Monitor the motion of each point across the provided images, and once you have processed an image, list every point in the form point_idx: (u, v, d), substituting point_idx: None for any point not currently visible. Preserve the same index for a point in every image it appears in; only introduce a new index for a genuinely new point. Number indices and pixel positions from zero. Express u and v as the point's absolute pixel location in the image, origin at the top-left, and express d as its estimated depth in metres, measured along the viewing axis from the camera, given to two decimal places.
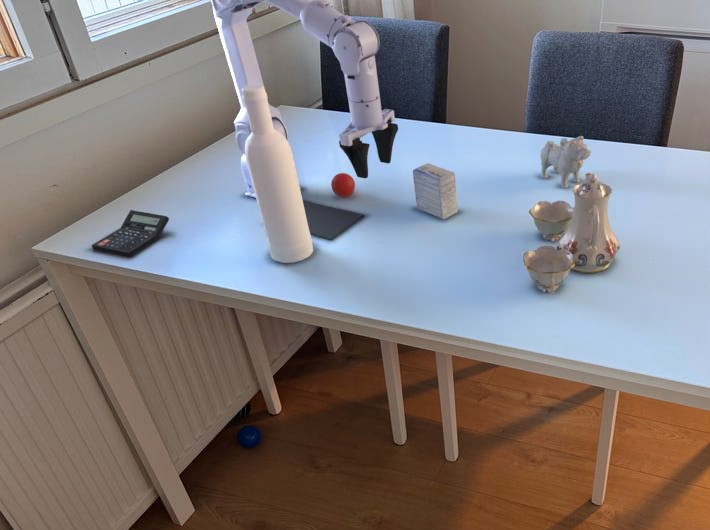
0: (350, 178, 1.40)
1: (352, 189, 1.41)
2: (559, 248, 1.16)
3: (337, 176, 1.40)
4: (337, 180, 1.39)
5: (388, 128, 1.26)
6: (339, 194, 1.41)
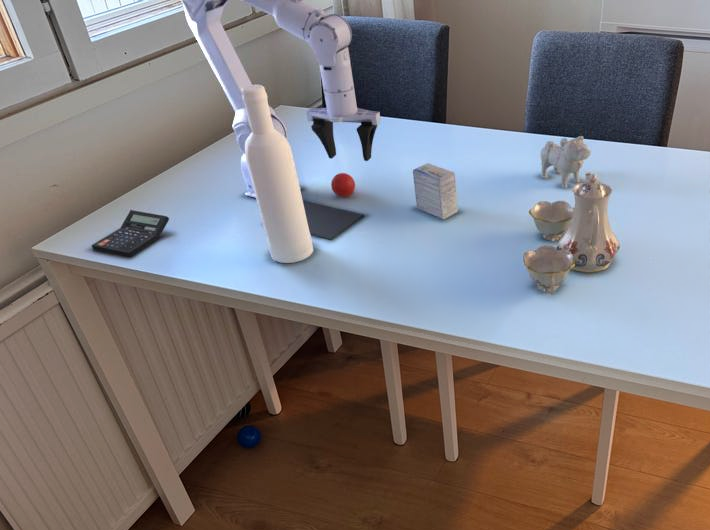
0: (350, 178, 1.40)
1: (352, 189, 1.41)
2: (559, 248, 1.16)
3: (337, 176, 1.40)
4: (337, 180, 1.39)
5: (358, 127, 1.27)
6: (339, 194, 1.41)
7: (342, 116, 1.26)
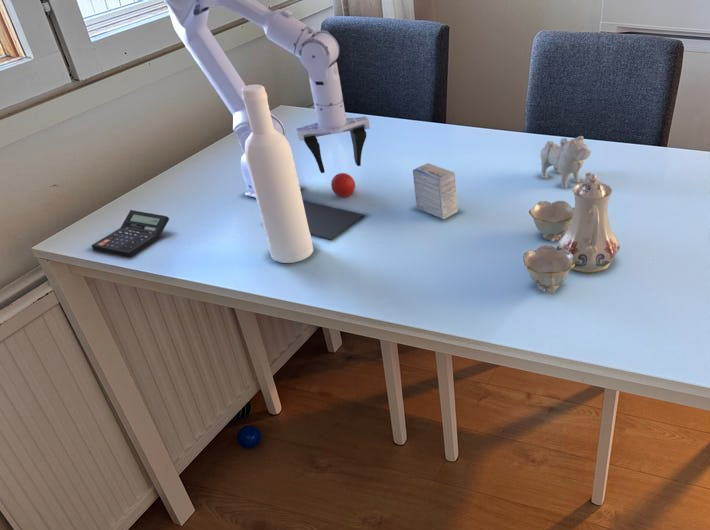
0: (350, 178, 1.40)
1: (352, 189, 1.41)
2: (559, 248, 1.16)
3: (337, 176, 1.40)
4: (337, 180, 1.39)
5: (354, 134, 1.35)
6: (339, 194, 1.41)
7: (341, 126, 1.32)
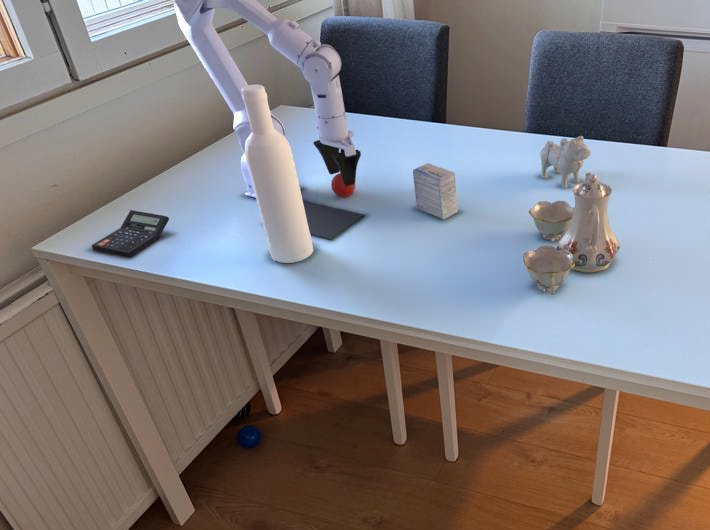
0: None
1: (352, 189, 1.41)
2: (559, 248, 1.16)
3: (337, 176, 1.40)
4: (337, 180, 1.39)
5: None
6: (339, 194, 1.41)
7: None
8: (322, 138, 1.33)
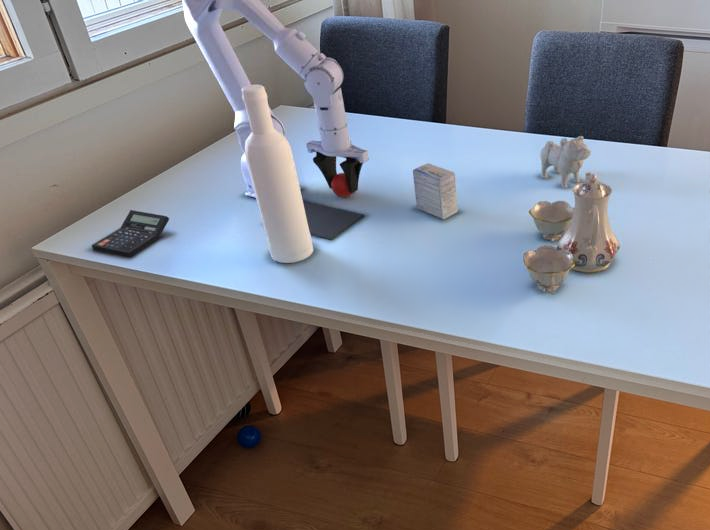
0: None
1: None
2: (559, 248, 1.16)
3: (337, 176, 1.40)
4: (336, 180, 1.39)
5: None
6: (339, 194, 1.41)
7: None
8: (329, 151, 1.34)
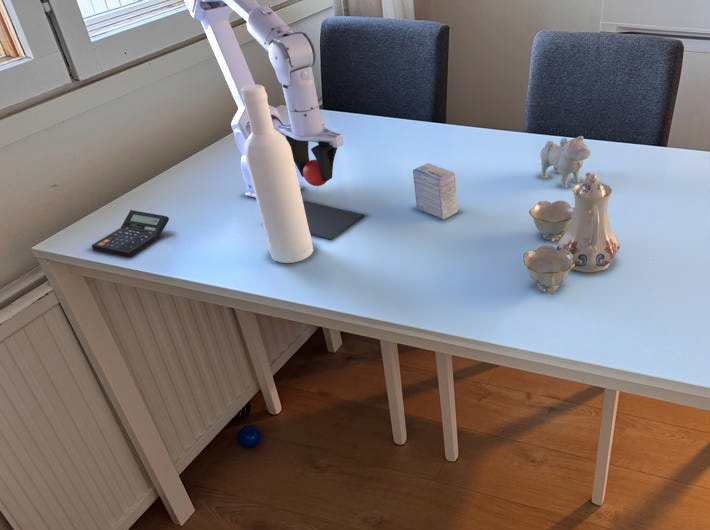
0: None
1: None
2: (559, 248, 1.16)
3: (309, 163, 1.28)
4: (309, 167, 1.27)
5: None
6: (312, 182, 1.29)
7: None
8: (299, 134, 1.22)
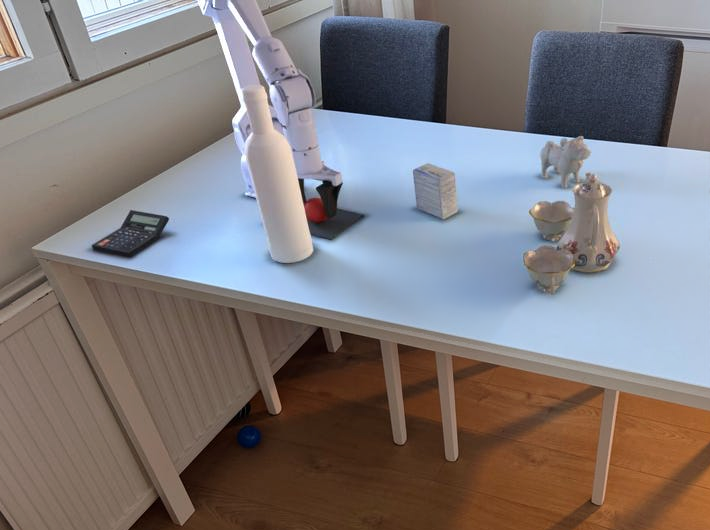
0: None
1: None
2: (559, 248, 1.16)
3: (309, 201, 1.30)
4: (309, 205, 1.30)
5: None
6: (312, 220, 1.31)
7: None
8: (299, 172, 1.24)
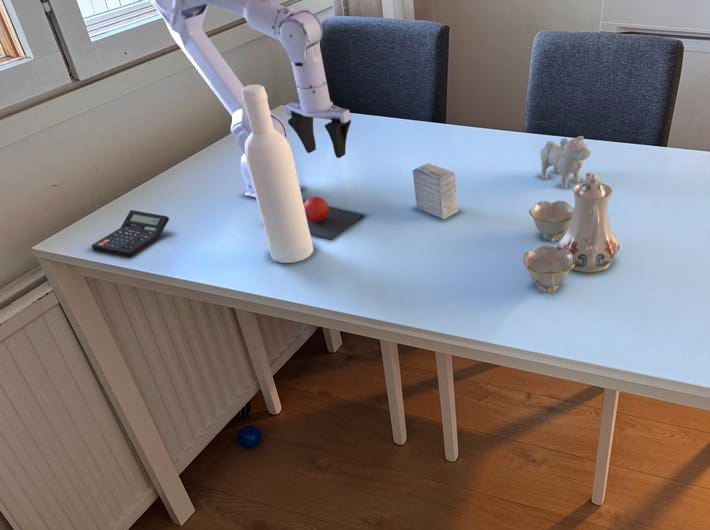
0: (323, 201, 1.31)
1: (325, 212, 1.31)
2: (559, 248, 1.16)
3: (309, 199, 1.30)
4: (308, 203, 1.30)
5: None
6: (311, 218, 1.31)
7: None
8: (308, 111, 1.27)
